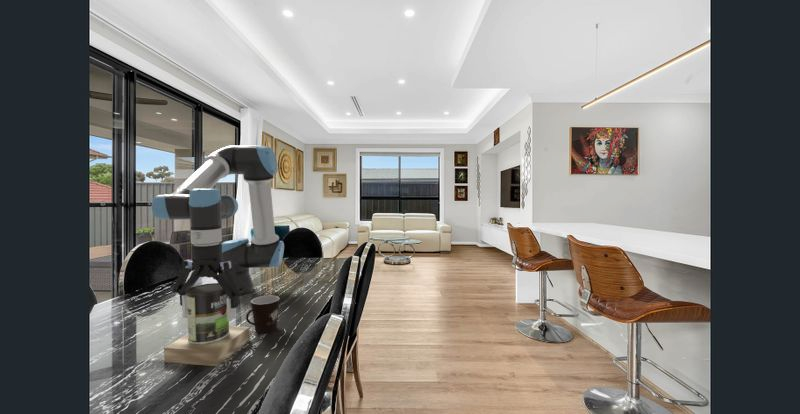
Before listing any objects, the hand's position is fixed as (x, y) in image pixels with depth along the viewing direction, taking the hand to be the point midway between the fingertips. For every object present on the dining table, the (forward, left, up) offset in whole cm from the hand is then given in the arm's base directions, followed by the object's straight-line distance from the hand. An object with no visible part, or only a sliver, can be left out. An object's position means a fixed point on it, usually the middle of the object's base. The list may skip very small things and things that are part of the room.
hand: (209, 317), depth 94 cm
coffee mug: (-14, +8, -10) cm, 18 cm away
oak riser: (0, 0, -9) cm, 9 cm away
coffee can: (0, 0, -6) cm, 6 cm away
